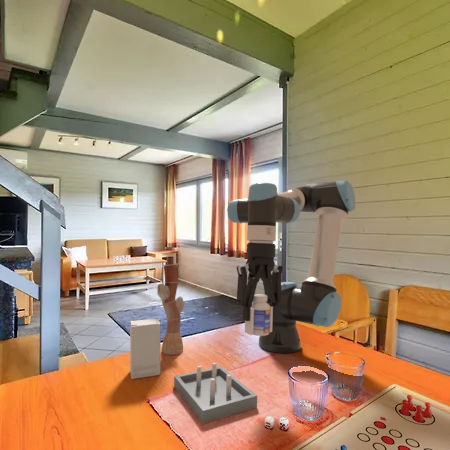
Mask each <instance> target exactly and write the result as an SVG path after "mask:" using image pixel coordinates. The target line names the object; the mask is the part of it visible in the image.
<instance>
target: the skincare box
mask: <svg viewBox="0 0 450 450" xmlns="http://www.w3.org/2000/svg"><path fill="white" fill-rule="evenodd" d="M161 329H162V328H161V322H160V320H159V319H158V318H148V319H142V320H141V319H138V320H130V324H129V336H130V337H129V340H130V341H129V343H130V345H129V349H130V350H129V351H130V354H129V358H130V359H129V362H130V363H129V365H130V367H129V371H130V376H131V377H130V378H131V380H135V379H140V378H147V377H154V376H161Z"/></svg>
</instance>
